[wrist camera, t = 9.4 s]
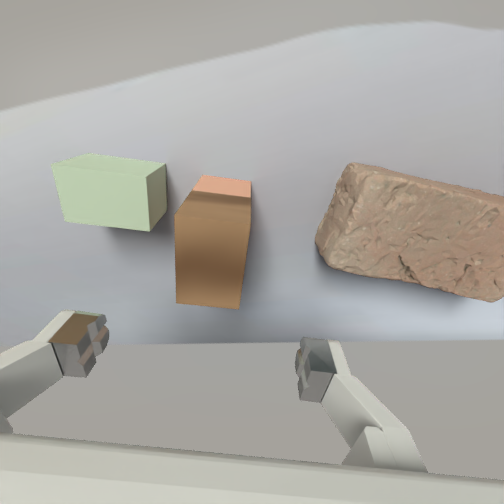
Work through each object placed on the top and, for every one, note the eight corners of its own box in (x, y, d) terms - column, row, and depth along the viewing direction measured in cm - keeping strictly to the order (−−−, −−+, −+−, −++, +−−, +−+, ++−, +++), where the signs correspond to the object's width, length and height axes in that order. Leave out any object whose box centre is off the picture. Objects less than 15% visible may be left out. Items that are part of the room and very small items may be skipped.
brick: (311, 245, 25) (323, 274, 21) (344, 156, 21) (368, 169, 17) (462, 275, 27) (501, 306, 22) (521, 198, 22) (581, 219, 18)
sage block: (165, 163, 21) (145, 176, 17) (167, 209, 23) (150, 231, 19) (89, 152, 20) (50, 164, 16) (97, 201, 22) (65, 221, 18)
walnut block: (192, 190, 17) (174, 215, 13) (250, 197, 17) (250, 224, 14) (191, 264, 20) (176, 303, 16) (241, 270, 20) (238, 309, 16)
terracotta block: (202, 174, 21) (191, 190, 17) (250, 181, 21) (250, 198, 17) (200, 239, 24) (190, 265, 20) (242, 244, 24) (240, 270, 20)
